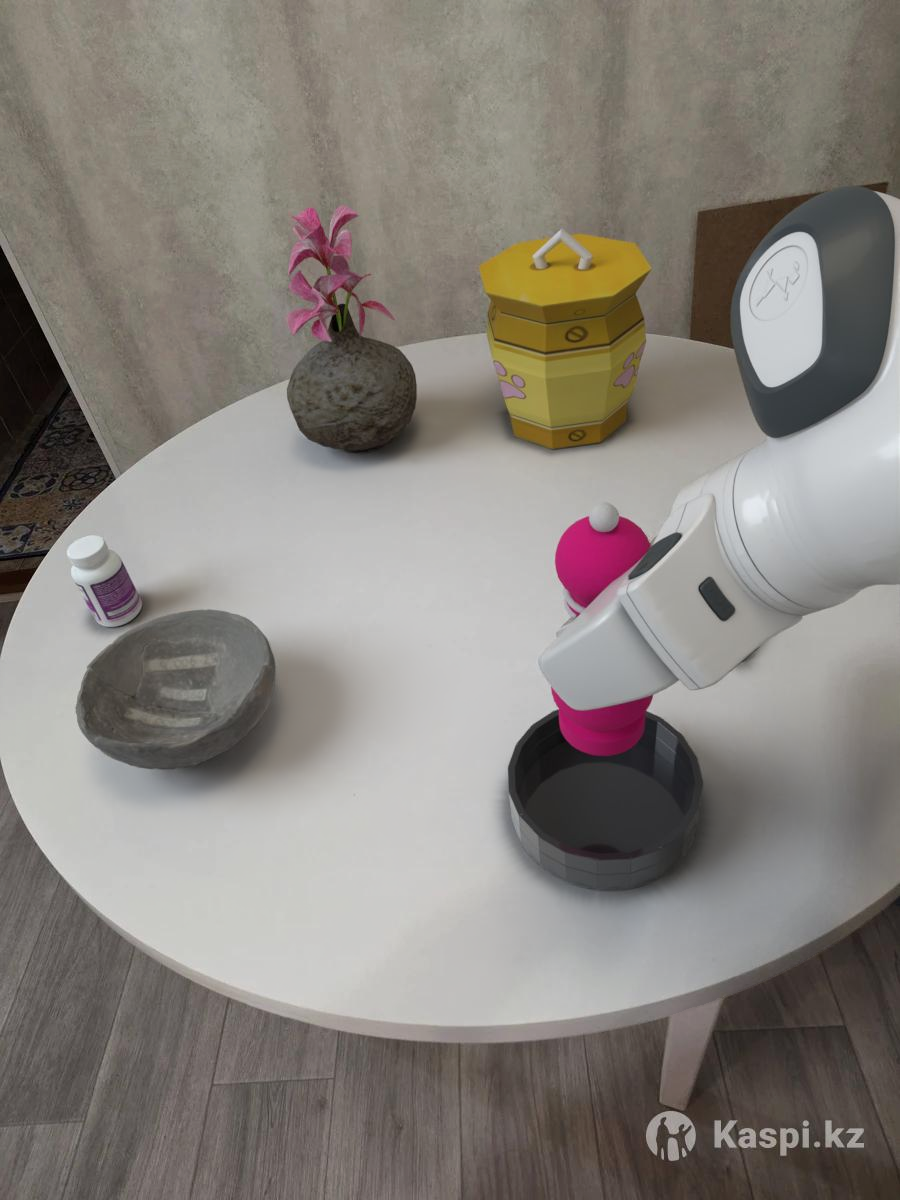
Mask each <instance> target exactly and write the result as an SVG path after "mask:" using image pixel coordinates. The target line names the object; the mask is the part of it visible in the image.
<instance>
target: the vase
mask: <svg viewBox="0 0 900 1200" xmlns="http://www.w3.org/2000/svg"><path fill="white" fill-rule="evenodd" d="M288 217H289V218H290V219H291V220H293V221H294V223H296V224H294V225H293V226H292V231H293V232H294V233H295V234H296V235H297V236H298V238H299V239H300V240H299V241H298V242H297V243H295V244H294V246H293V248H292V249H291V252H290V259H289V264H288V271H287V278H289V277H290V275H292V273H293V272H294V270H295V269H296V268H297V267H298V266H299V265H300V264H301V263H302V262H303V261H305V260H306V259H310V258H313V259H315V260H316V261H318V262H319V263H320V264H321V265H322V266H323V267H324V268H325V270H326V275H321V276H320V277H318V278H317V279H316V281H315V283H314V285H313V287H312V286H311V285H310V283H309V282H308V280H307V279H306V277H305V275H303V273H302V270H301V269H299V270H298V271H297V272H296V273H295V274H294V275H293V277H292V278H291V280H290V281H289V284H288V288H289V290H290V291H291V292H292V293H293V295H295V296H297V297H299V298H301V299H302V300H305V301H307V302H311V303H313V304H314V307H313V308H312V307H311V308H309V307H307V308H299V309H296V310H292V311H291V312H289V313H288V314H287V315H286V316H285V321H286V323H287V327H288V329H289V331H290V333H291V334H292V335H293V336H295V335H297V333H298V332H299V331H300V330H301V329H302V328H303V327H304V326H305V325H306V324H307V323H308V322H310V321H311V320H312V319H314V318H316V317H317V318H318V319H317V320H315V321H313V323H312V325H311V334H312V335H313V336H314V338H315V339H317V340H321V341H320V342H319V343H317V344H315V345H313V347H311V348H310V349H309V350H308V351H307V352H306V353H305V354H304V356H303V357H301V359H300V360H299V361H298V362H297V364H296V365H295V367H294V368H293V370H292V372H291V375H290V378H289V380H288V384H287V387H286V398H287V402H288V404H289V405H288V406H289V409H290V412H291V414H292V416H293V418H294V421H295V423H296V426H297V427H298V429H299V432H301V434H302V435H303V436H304V437H306V439H307V440H309V441H311V442H313V443H315V444H317V445H320V446H322V447H324V448H325V447H326V448H329V449H333V450H340V451H343V452H346V453H350V454H365V453H370V452H373V451H376V450H379V448H381V447H383V446H384V444H386V443H388V442H389V441H391V440H392V439H394V438H396V436H398V435H399V434H401V433H402V432H405V429H406V428H407V427H408V425H409V423H410V422H411V421H412V419H413V415H414V412H415V410H416V405H417V398H418V389H417V388H418V385H417V376H416V372H415V369H414V367H413V364H411V361H409V359H408V358H407V357H406V355H405V353H403V352H402V350H400V349H399V348H398V347H396V346H395V345H392V344H389V343H387V342H384V341H381V340H377V339H374V338H370V337H366V336H363V335H362V334H363V331H364V326H365V322H366V312H365V309H364V308H367V309H370V310H372V311H376V312H378V313H380V314H382V315H384V316H385V317H387V318H388V319H390V320H392V321H396V319H395V317H394V316H393V315H392V313H391V312H390V310H388V309H387V307H386V306H385V305H383V303H381V302H378V301H377V300H367V301H365V302H363V303H361V301H360V298H359V296H358V295H357V294H356V293H354V292H353V290H354V289H355V288H356V286H358V284H359V283H361V281H362V280H363V279H364V278H367V277H369V276H371V275H372V273H367V274H365V275H359V274H357V273H356V272H354V271H352V270H351V269H350V267H349V263H348V261H347V259H348V260H350V259H351V258H352V246H353V243H352V242H353V239H352V233H351V232H350V231H349V229H341V228H343V227H344V226H345V225H346V224H347V223H348V222H350V221H351V220H353V219H356V218H358V217H359V214H358V212H356V211H354V209H352V208H351V207H348V206H346V205H339V206H338V207H337V208H336V210H335V211H334V212H333V215H332V217H331V219H330V223H329V233H328V237H327V236H326V232H325V229H324V227H323V225H322V223H321V220H320V217H319V214H318V213H317V210H316V209H315V208H314V207H313V206H309V207H307V208H306V209H304V210H303V211H301V212H299V213H298V214H297V215H296V216H293V215H288ZM309 241H310V242H309ZM335 254H336V255H335ZM332 272H333V273H334V274H332ZM339 289H342V290H344V291H345V292H347V293H346V298H345V303H339V304H338V299H337V295H336V292H337V291H338V290H339ZM319 292H320V293H321V294H320V293H319ZM351 297H354V299H355V300H356V302H357V308H358V327H359V328H358V329H359V331H358V329H357V328H356V324H355V323H354V320H353V317H352V315H351V312H350V310H349V304H350V299H351ZM329 318H330V321H329V324H328V327H327V322H326V321H327V319H329Z"/></svg>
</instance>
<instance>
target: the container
mask: <svg viewBox="0 0 900 1200" xmlns="http://www.w3.org/2000/svg"><path fill="white" fill-rule="evenodd" d="M645 257H646V256H644V254H643V253H642V251H641V249H640V248H639V247H638V245H637V243H636V242H630V241H625V240H620V239H619V240H618V239H613V238H609V237H602V236H596V235H592V234H591V235H590V234H585V233H575V234H570V233H568V232H567V230H565V229H564V228H563V227H561V229H559V231H557V232H556V233H555V234H554V235H553V236H552V237H547V238H539V239H533V240H525V241H519V242H516V243H514V244H513V245H511V246H510V247H508V248H506V249H504V250H503V251H501V252H500V253H498V254H496V255H494V256H493V257H491V258H489V259H488V260H486V261H484V262H483V263H481V264H479V265H478V269H479V273H480V276H481V281H482V284H483V288H484V292H485V294H486V296H488V298H489V299H490V304H489V306H488V310H487V318H486V319H487V320H486V339H487V342H488V346H489V350H490V354H491V359H492V363H493V366H494V369H495V372H496V375H497V378H498V380H499V385H500V388H501V391H502V395H503V399H504V403H505V407H506V408H507V411H508V412H507V413H508V416H509V421H510V425H511V429H512V433H513V436H514V438H517V439H520V440H522V441H526V442H527V443H528V442H529V443H531V444H533V445H534V444H535V445H537V446H540V447H543V448H546V449H549V450H552V451H555V450H561V449H562V450H563V449H570V448H576V447H584V446H591V445H598V444H602V443H603V442H604V441H605V440H606V439H607V438H609V437H610V436H611V435H613V433H614V432H616V431H617V430H618V429H619V428H621V426H623V425H624V424H625V423H626V422H627V415H628V413H627V412H628V404H629V401H630V400H631V396H632V394H633V392H634V390H635V386H636V382H637V378H638V373H639V368H640V364H641V361H642V357H643V354H644V352H645V348H646V345H647V336H646V335H647V334H646V324H645V316H644V314H643V311H642V308H641V305H640V302H639V299H638V297H637V296H638V295H637V292H638V290H639V289H640V287H641V286H642V284H643V283H644V281H645V280H646V278H647V277H648V275H649V274H650V273H651V271H652V269H653V268H652V267H651V265H650V263H649V262H648V260H647V258H645Z"/></svg>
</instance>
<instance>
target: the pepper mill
mask: <svg viewBox="0 0 900 1200" xmlns="http://www.w3.org/2000/svg"><path fill="white" fill-rule="evenodd" d="M650 542H651V541H650V540H649V538H648V536H647V534H646V533H645V532H644V530H643V529H642V528H641V527H640V526H639V525H637V524H636V523H635V522H634V521H632V520H630V519H629V518H627V517H624V516H620V513H619V510H618V509H617V507H616V506H614V505H613V504H612V503H610V502H600V503H597V504H595V505H594V506H593V507H592V508H591V509H590V511H589V514H588V515H587V516H585V517H582V518H580V519H578V520H576V521H574V523H572V524H571V525H569V526H568V528H566V530H565V531H564V532H563V533H562V535H561V536H560V538H559V541H558V543H557V546H556V550H555V554H554V565H555V571H556V575H557V578H558V579H559V582H560V583H561V585H562V586H563V596H564V598H563V604H564V609H565V611H566V613H567V614H568V615H569V618H571V617H575V616H576V615H579V614H581V613H582V612H583V611H584V610H585V609H586V608H587V607H588V606H589V605H590V604H591V603H592V601H593V600H594V599H595V598H596V597H597V596H598V595H599V594H600V593H601V592H602V591H603V590H604V589H605V588H606V587H607V586H608V585H609V584H611V583H612V582H613V581H614V580H616V579H617V578H619V577H620V576H621V575H623V574H624V573H625V572H626V571H628V570H629V569H630V568H631V567H632V566H634V565H635V564H636V563H637V562H638V561H639V560H640V559H641V558H642V557H643V556H644V555H645V554H646V553H647V551H648V550H649V548H650ZM550 691H551V695H552V698H553V701H554V703H555V705H556V707H557V708H558V709H559V725H560V729H561V732H562V734H563V736H564V738H565V739H566V740H567V741H568V742H569V743H570V744H571V745H572V746H573V747H575V748H576V749H578V750H580V751H582V752H584V753H588V754H591V755H597V756H610V755H616V754H619V753H622V752H625V751H627V750H628V749H630V748H631V747H633V746H634V745H635V744H636V743H637V742H638V741H639V739H640V738H641V736H642V734H643V731H644V726H645V712H646V711H648V709H649V707H650V706H651V704H652V701H653V698H654V695H651V696H648V697H645V698H642V699H638V700H634V701H630V702H626V703H622V704H618V705H613V706H609V707H604V708H599V709H593V710H586V711H580V710H575V709H573V708H571V707H570V706H568V705H567V704H566V703H565V702H564V701H563V700H562V699H561V698H560V696H559V695H558V694H557V693H556V692H555V690H554V689H553V688H552V687H551V686H550Z"/></svg>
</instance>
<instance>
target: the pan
mask: <svg viewBox="0 0 900 1200" xmlns="http://www.w3.org/2000/svg"><path fill="white" fill-rule="evenodd" d="M507 783H508V784H507V785H508V787H507V788H508V789H507V791H508V798H509V807H510V808H509V809H510V816H511V822H512V824H513V826H514V830H515V833H516V835H517V837H518V840H519V842H520V843H521V845H522V847H523V848H524V850H525V851H526V852H527V854H528V855H529V856H530V857H531V858H532V860H534V861H535V863H536V864H538V865H539V866H540V867H541V868H542V869H544V870H545V871H546V872H548V873H549V874H551V875H552V876H554V877H555V878H557V879H560V880H562V881H563V882H566V883H569V884H571V885H574V886H577V887H580V888H585V889H589V890H596V891H622V890H623V891H624V890H630V889H634V888H638V887H642V886H645V885H647V884H650V883H652V882H654V881H656V880H658V879H660V878H662V877H663V876H665V875H667V874H668V873H669V872H670V871H671V870H673V869H674V868H675V867H676V866H677V865H678V864H679V863H680V862H681V861H682V860H683V859H684V858H685V855H686V854H687V853H688V851H689V849H690V848H691V845H692V844H693V842H694V839H695V837H696V832H697V828H698V827H697V826H698V820H699V815H700V808H701V803H702V801H701V800H702V794H703V788H704V779H703V776H702V771H701V767H700V763H699V759H698V756H697V755H696V753H695V752H694V750H693V749H692V747H691V745H690V744H689V743H688V741H687V739H686V738H685V737H684V735H683V734H682V733H681V732H680V731H678V730H677V729H676V728H675V727H673V726H672V725H671V724H670V723H668V722H667V721H666V720H665V719H664V718H662V717H661V716H659V715H657V714H654V713H652V712H650V711H648V710H646V712H645V726H644V731H643V734H642V736H641V738H640V739H639V741H638V742H637V743H636V744H635V745H634V746H633V747H631V748H630V749H628V750H627V751H625V752H622V753H619V754H616V755H610V756H597V755H591V754H588V753H584V752H582V751H580V750H578V749H576V748H575V747H573V746H572V745H571V744H570V743H569V742H568V741H567V740H566V739H565V738H564V736H563V734H562V732H561V729H560V725H559V708H558V709H555V710H552V711H551V712H550V713H548V714H547V715H545V716H543V717H542V718H540V719H539V720H537V721H536V722H534V723H532V725H530V727H528V729H527V730H526V731H525V732H524V734H523V735H522V736H521V738H520V739H518V741H517V742H516V744H515V746H514V748H513V751H512V754H511V756H510V760H509V763H508V765H507Z"/></svg>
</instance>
